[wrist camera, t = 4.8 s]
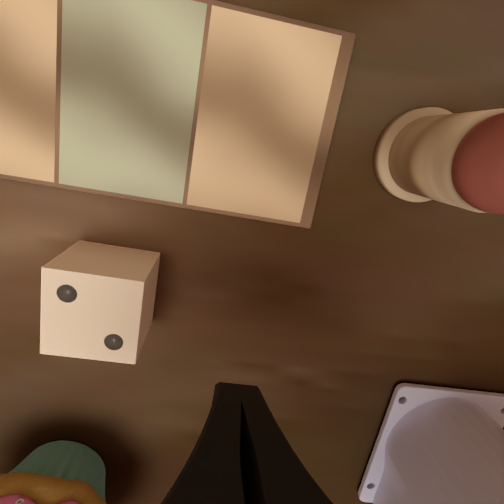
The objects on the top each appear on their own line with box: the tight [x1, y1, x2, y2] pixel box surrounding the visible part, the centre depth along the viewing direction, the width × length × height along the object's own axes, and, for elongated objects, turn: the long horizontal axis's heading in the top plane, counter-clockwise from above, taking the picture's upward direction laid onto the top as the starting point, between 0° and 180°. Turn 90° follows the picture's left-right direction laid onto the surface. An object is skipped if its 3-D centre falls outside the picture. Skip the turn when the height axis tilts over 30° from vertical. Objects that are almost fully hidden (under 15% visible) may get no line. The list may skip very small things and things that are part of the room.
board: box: [0, 0, 356, 229], centre depth 16 cm, size 9×19×1 cm, turn 80°
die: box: [40, 240, 160, 364], centre depth 17 cm, size 4×4×4 cm
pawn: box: [373, 107, 504, 214], centre depth 14 cm, size 4×4×8 cm
